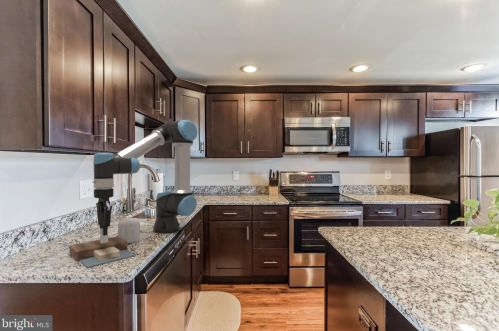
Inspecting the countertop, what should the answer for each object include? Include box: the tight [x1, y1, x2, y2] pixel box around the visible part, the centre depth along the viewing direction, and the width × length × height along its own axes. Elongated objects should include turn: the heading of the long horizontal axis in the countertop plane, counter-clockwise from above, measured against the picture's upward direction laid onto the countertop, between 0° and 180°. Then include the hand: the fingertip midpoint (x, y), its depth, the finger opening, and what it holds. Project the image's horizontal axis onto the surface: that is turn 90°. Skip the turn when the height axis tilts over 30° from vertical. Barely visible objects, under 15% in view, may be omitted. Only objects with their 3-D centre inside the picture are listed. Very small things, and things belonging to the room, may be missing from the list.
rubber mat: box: [79, 249, 136, 269], centre depth 111 cm, size 18×10×1 cm, turn 137°
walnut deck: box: [68, 235, 128, 262], centre depth 118 cm, size 20×12×4 cm, turn 137°
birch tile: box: [94, 247, 120, 262], centre depth 111 cm, size 8×8×2 cm
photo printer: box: [117, 217, 141, 244], centre depth 133 cm, size 10×4×12 cm, turn 123°
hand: (104, 242), depth 114 cm, fingers closed
